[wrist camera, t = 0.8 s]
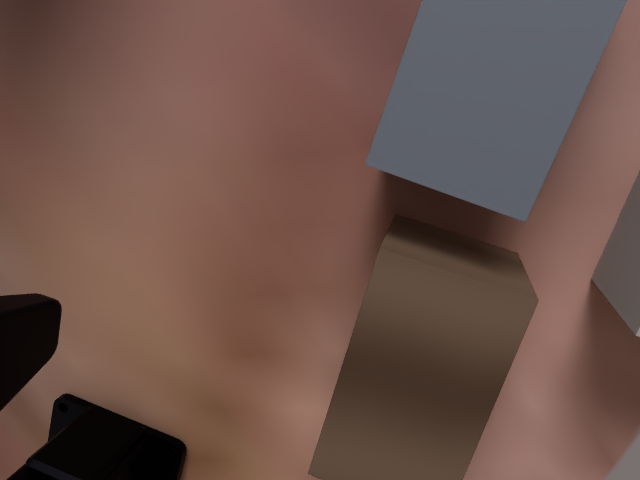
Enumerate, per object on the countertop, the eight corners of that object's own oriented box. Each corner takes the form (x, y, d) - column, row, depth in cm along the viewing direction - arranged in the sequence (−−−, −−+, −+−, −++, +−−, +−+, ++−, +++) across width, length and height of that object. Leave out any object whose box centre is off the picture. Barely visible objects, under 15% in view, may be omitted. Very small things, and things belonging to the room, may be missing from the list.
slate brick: (506, 192, 19) (525, 222, 14) (385, 149, 20) (365, 164, 15) (613, -53, 17) (678, -112, 12) (471, -93, 17) (480, -166, 13)
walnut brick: (444, 435, 22) (442, 527, 17) (337, 395, 23) (307, 473, 18) (517, 251, 20) (538, 300, 15) (395, 213, 20) (379, 248, 15)
